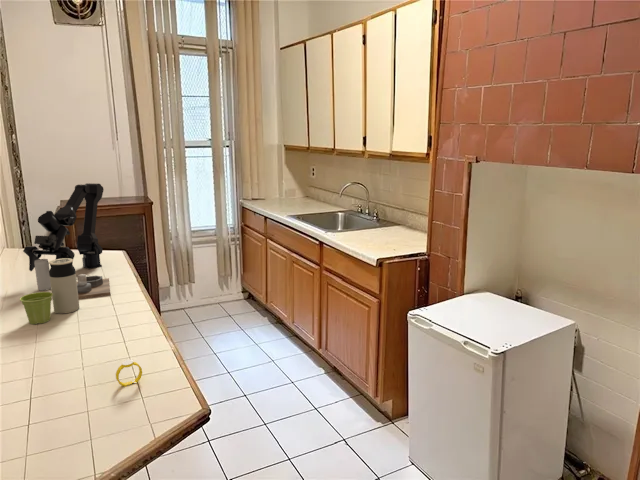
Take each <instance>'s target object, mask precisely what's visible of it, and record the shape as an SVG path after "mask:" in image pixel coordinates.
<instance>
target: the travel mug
mask: <svg viewBox="0 0 640 480" xmlns="http://www.w3.org/2000/svg"><path fill="white" fill-rule="evenodd" d="M48 262H49V270H50V271H49V275H50V283H51V289H50V291H51V293H52V294H53V296H52V306H53V312H54V313H55V314H60V315H61V314H62V315H63V314H71V313H74V312H76V311H77V310H79V309H80V302H79V301H80V299H78V290H77V282H78V280H77V274H76V273H77V272H76V267H74V265H73V262H74V259H70V258H62V259H56V258H55V259H52V260H50V261H48Z"/></svg>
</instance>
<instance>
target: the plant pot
mask: <svg viewBox="0 0 640 480" xmlns="http://www.w3.org/2000/svg"><path fill="white" fill-rule="evenodd" d="M52 296H53V294H52V292H49V291H40V292H32V293H29V294H25V295H22V296H21V297H19V301H20V302H21V304H22V305H23V308H24V310H25V313H26V317H27V319H28V320H27V321H28V324H31V325H37V324H45V323H47V322H49V321H50V320H51V308H52V307H51V304H52V301H53V299H52Z"/></svg>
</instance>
